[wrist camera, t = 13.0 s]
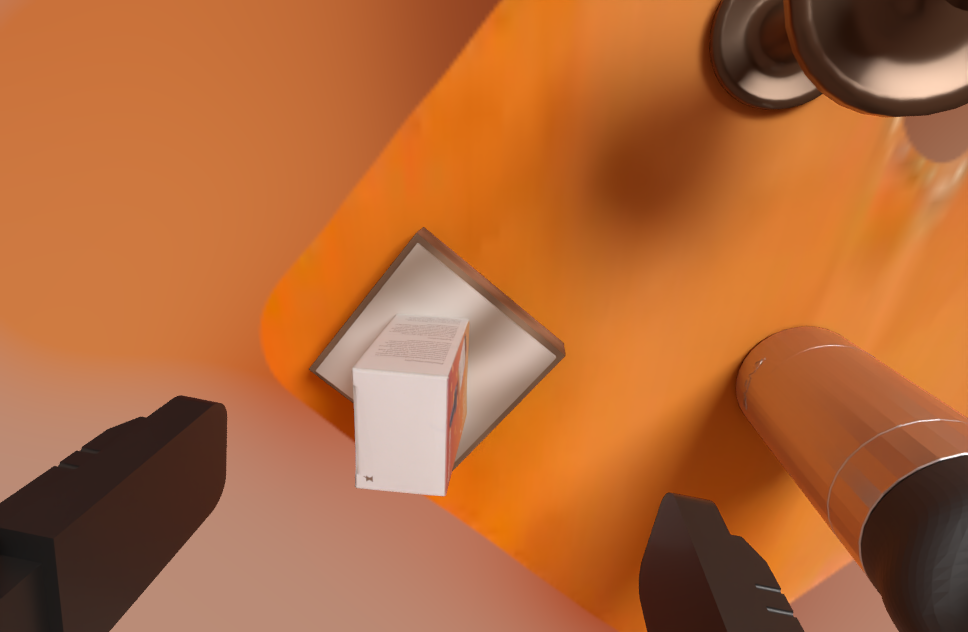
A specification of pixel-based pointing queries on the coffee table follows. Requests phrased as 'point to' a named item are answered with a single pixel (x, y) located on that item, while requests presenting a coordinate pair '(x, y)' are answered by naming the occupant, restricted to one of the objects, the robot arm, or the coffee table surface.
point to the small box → (411, 404)
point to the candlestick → (844, 54)
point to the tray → (454, 294)
